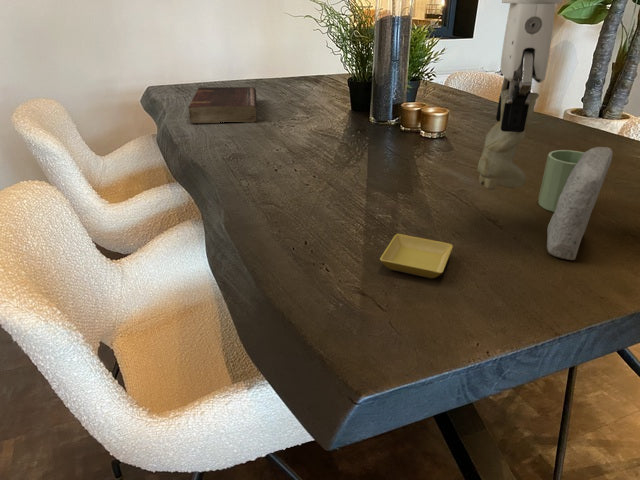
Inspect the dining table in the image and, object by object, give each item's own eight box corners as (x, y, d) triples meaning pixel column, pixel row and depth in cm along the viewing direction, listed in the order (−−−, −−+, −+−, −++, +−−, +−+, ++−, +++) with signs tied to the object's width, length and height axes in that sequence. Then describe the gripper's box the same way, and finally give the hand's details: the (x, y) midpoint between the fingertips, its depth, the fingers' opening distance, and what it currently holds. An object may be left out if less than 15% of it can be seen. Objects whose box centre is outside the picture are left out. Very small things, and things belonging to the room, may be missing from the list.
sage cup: (578, 198, 90) (591, 151, 86) (590, 215, 84) (604, 165, 79) (534, 195, 92) (544, 148, 88) (542, 212, 85) (553, 162, 81)
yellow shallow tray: (452, 256, 72) (454, 243, 71) (440, 286, 64) (442, 272, 64) (395, 245, 75) (396, 232, 74) (378, 272, 68) (378, 259, 67)
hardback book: (257, 122, 141) (256, 104, 138) (190, 124, 139) (188, 106, 137) (256, 101, 166) (255, 85, 164) (200, 102, 164) (198, 87, 162)
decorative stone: (583, 266, 69) (612, 164, 62) (537, 255, 71) (561, 157, 64) (589, 235, 77) (615, 143, 70) (548, 227, 80) (570, 137, 73)
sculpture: (529, 191, 76) (549, 93, 69) (485, 195, 75) (501, 95, 68) (511, 178, 81) (528, 85, 74) (469, 181, 80) (483, 87, 73)
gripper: (580, -8, 57) (547, 143, 66) (549, -10, 72) (525, 114, 80) (512, -8, 58) (489, 140, 67) (496, -10, 73) (478, 112, 82)
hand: (509, 124), depth 74 cm, fingers closed on sculpture, 5 cm apart
